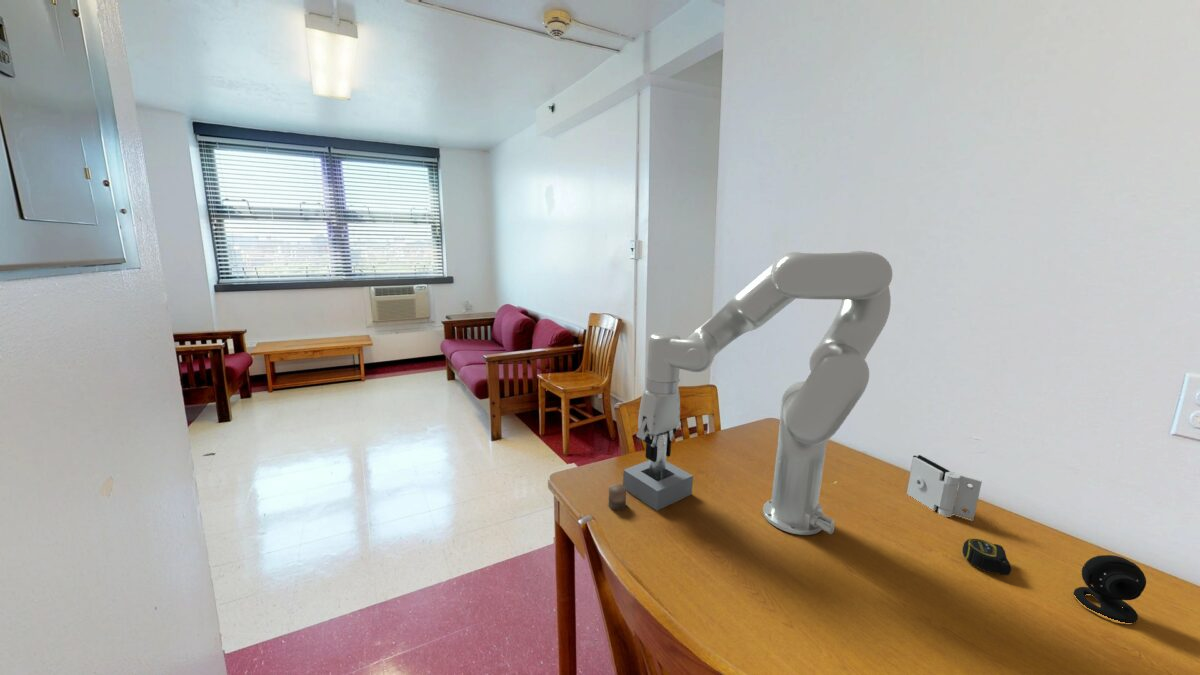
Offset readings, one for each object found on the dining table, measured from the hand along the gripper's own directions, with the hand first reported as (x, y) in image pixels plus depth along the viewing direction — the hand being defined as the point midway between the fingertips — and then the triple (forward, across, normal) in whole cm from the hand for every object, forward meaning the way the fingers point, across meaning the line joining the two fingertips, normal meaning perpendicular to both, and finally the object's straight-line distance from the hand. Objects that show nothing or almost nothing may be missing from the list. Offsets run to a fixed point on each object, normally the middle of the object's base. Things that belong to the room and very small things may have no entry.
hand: (657, 456), depth 110 cm
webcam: (+9, -37, +72) cm, 82 cm away
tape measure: (+9, -34, +57) cm, 67 cm away
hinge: (+9, -50, +44) cm, 68 cm away
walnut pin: (+9, +12, -1) cm, 15 cm away
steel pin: (+6, 0, 0) cm, 6 cm away
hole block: (+9, 0, 0) cm, 9 cm away
